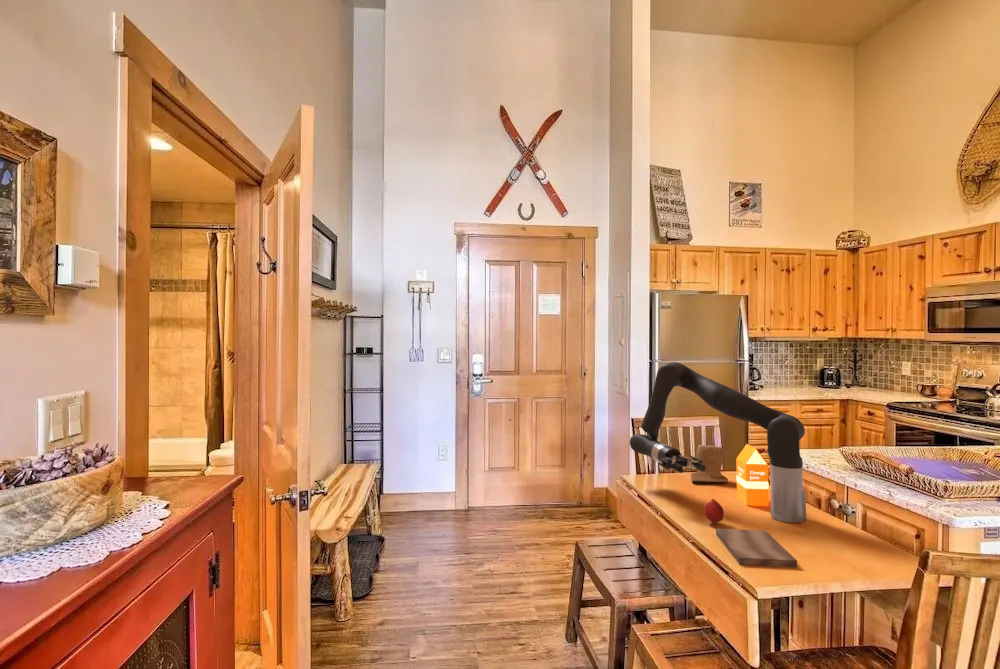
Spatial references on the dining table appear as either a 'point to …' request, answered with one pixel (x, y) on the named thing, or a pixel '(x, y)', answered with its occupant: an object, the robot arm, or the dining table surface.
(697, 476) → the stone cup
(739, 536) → the cutting board
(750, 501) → the orange juice
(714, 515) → the onion
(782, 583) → the dining table surface
